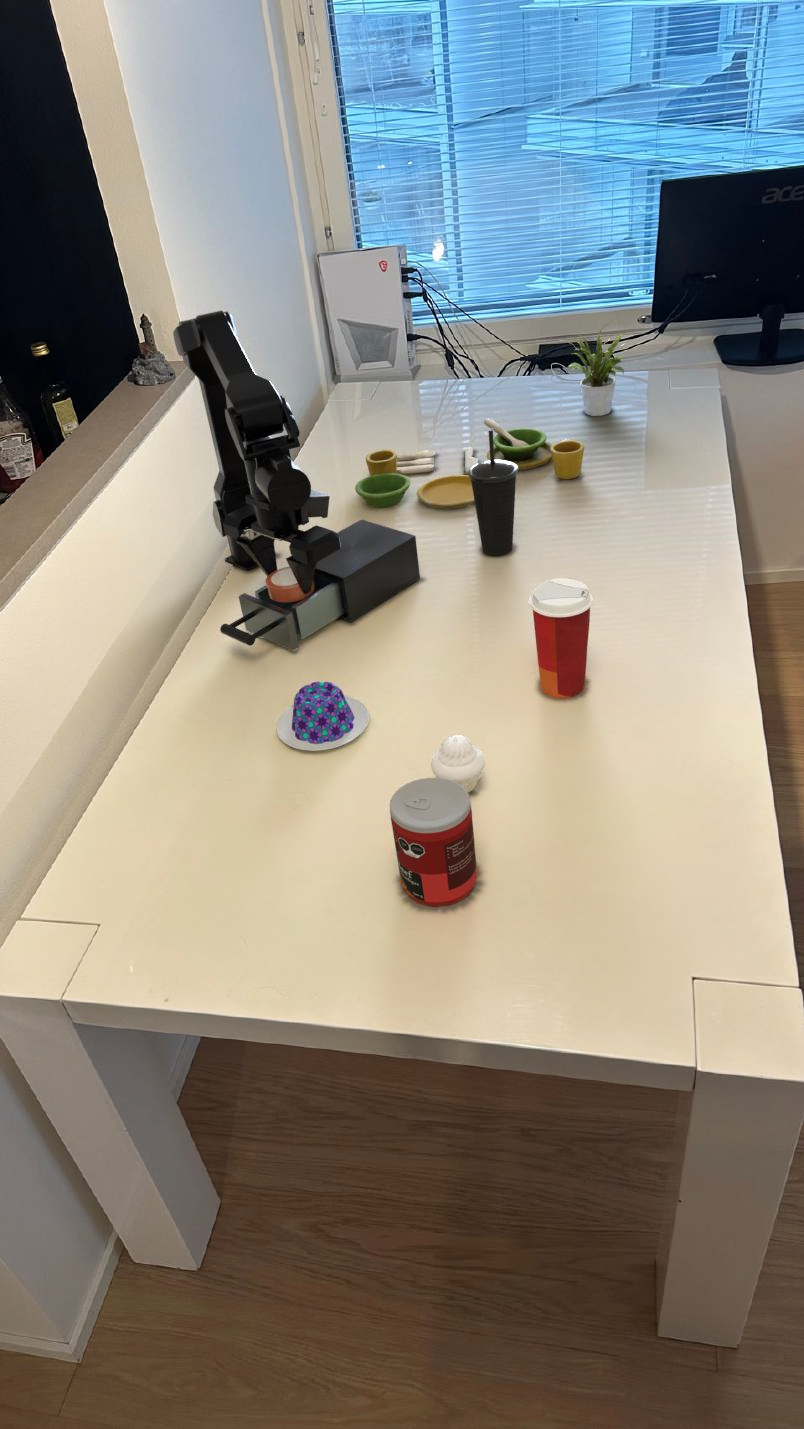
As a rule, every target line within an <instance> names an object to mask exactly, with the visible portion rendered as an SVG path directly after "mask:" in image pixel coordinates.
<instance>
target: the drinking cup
mask: <svg viewBox="0 0 804 1429" xmlns="http://www.w3.org/2000/svg"><path fill="white" fill-rule="evenodd" d="M488 445H489V450H490V460H488V459H486V460H483V461H481V462H478V464H476V465H474V466H472V467H471V468H470V469H469V471H468V474H467V475H469V477H470V478H471V483H472V489H473V495H474V501H475V503H474V507H475V513H476V519H477V524H478V531H479V537H480V541H481V550H482V552H483V554H484V555H487V556H490V557H502V556H505V555H508V554H510V553H511V552H512V551H513V544H514V525H515V524H514V523H515V506H516V488H517V475H518V474H519V470H518V467H517V465H516V464H514V463H512V462H509V461H504V460H499V459H495V457H494V446H495V445H494V431H493V429H490V428H489V429H488Z"/></svg>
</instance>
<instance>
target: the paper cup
mask: <svg viewBox="0 0 804 1429" xmlns="http://www.w3.org/2000/svg"><path fill="white" fill-rule="evenodd" d="M527 601H528V603H527V604H528V605H529V606H530V608H531V609H532V615H533V617H532V618H533V626H534V636H535V645H536V655H537V665H538V674H539V682H540V688H541V690H542V693H544V694H545V695H547V696H549V697H551V698H553V699H554V698H555V699H569V698H570V699H571V698H573V697H576V696H578V695H579V694H581V693H582V692H583V691H584V689H585V682H586V672H587V659H588V646H589V645H588V644H589V633H590V621H591V607H592V605H593V603H594V598H593V595H592V594H591V592H590V589H589V587H588V586H587V584H585V583H584V582H583V581H580V580H576V579H573V578H565V577H563V578H562V577H561V578H560V577H559V578H553V579H548V580H546V581H543V582H541V583H539V584H538V585H537V586H536V587H535V589H533V591H532V592H531V594H530V596H529V598H528V600H527Z"/></svg>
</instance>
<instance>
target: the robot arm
mask: <svg viewBox="0 0 804 1429" xmlns="http://www.w3.org/2000/svg"><path fill="white" fill-rule="evenodd" d="M172 335H173V336H172V337H173V341H174V345H175V348H176V351H177V354H178V355H179V357H182V360H183V363H184V364H185V366H186V368H188V369H189V370H190V371H191V372H192V374H194V376H195V377H196V378H197V380H198V383H199V387H200V391H201V395H202V399H203V404H204V408H205V413H206V418H207V422H208V427H209V430H210V435H211V440H212V443H213V448H214V453H215V455H216V456H215V457H216V462H217V465H218V474H217V477H216V479H215V482H214V485H213V492H214V498H215V500H214V501H212V502H213V503H212V517H213V521H214V524H215V528H216V529H217V532H219V534H220V535H221V537H222V538H225V537H227V542H228V547H229V551H230V555H229V556H227V557H225V558H224V562H225V563H226V564H230V565H232V566H235V567H238V568H240V569H243V570H244V571H252V570H253V569H255V568H257V567H259V568H260V570H261V571H262V572H263V573H264V574H265V576H266V578H267V577H268V575H269V574H271V573H272V572H274V571H276V570H278V564H277V552H276V549H275V541H278V542H282V541H284V542H287V543H289V545H288V547H289V553H290V556H288V557H286V558H285V560H286V562H287V564H288V567H290V568H291V570H292V572H293V574H294V576H295V578H296V580H297V582H298V584H299V586H300V588H301V590H302V592H303V593H304V594H307V593H309V592H310V591H311V588H312V583H313V578H314V572H315V568H316V564H317V562H318V561H320V560H322V559H324V558H325V557H327V556H329V555H331V554H332V553H334V552H336V551H338V550H339V549H341V545H340V539H339V534H338V532H336V531H334V530H332V529H329V528H326V527H323V526H320V525H314V526H312V527H310V528H308V529H306V530H302V529H300V526H305V525H307V524H308V523H310V519H311V518H322V519H327V518H328V517H329V516H328V515H329V508H330V507H329V506H330V494H328V493H327V494H326V493H325V492H321V491H318V490H314V489H312V483H311V481H310V479H309V477H308V475H306V473H305V472H304V471H303V470H302V469H301V468H300V467H299V466H298V465H297V464H296V463H295V461H294V460H293V459H292V456H291V452H290V450H292V449H297V448H300V447H301V445H300V440H299V437H300V432H301V431H300V429H299V426H298V424H297V422H296V419H295V416H294V414H293V411H292V409H291V406H290V404H289V403H288V402H287V401H286V399H285V397H284V396H283V395H280V394H279V392H278V391H277V389H276V388H275V386H274V384H273V383H272V381H271V380H269V379H267V378H264V377H262V376H260V375H258V374H257V373H256V371H255V370H254V368H253V366H252V363H251V362H250V360H249V358H248V356H247V354H246V352H245V350H244V348H243V346H242V345H241V343H240V339H239V335H238V331H237V327H236V324H235V320H234V316H233V314H230V313H229V312H228V311H223V310H217V311H213V312H208V313H207V312H206V313H203V314H199V315H196V316H195V318H191V319H186V320H182V321H179V322H178V326H176V327H175V328H174V330H173V332H172ZM284 431H286V434H284V435H279V434H282V433H284ZM274 435H275V436H276V435H279V436H276V437H271V436H274Z"/></svg>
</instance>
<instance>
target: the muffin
mask: <svg viewBox="0 0 804 1429" xmlns="http://www.w3.org/2000/svg"><path fill="white" fill-rule="evenodd" d="M430 761H431V762H430V766H431V770H432V772H433V774H434V776H435V778H444V779H448V780H451V781H454V782H456V783H458V784H459V785H461V786H462V787H463V788H464V789H465V790H466V791H467V793H468V794H469V793H471V792H472V791H473V789H474V788H475V787H476V785H477V784H478V781H479V780H480V778H481V776H482V775H483V770H484V769H485V766H486V758H485V756H484V753H483V752H482V750H480V749H479V748H478V747H477V746H475V745H474V744H473V743H472V741H471V740H470V738H468V737H467V736H464V735H460V734H456V735H455V734H452V735H451V736H448V737H447V738H445V739H443V742H442V743H441V744H440V748H439V749H438V750H437V751H436V752H435V753H434V755H433V756H432V758H431V760H430Z"/></svg>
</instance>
